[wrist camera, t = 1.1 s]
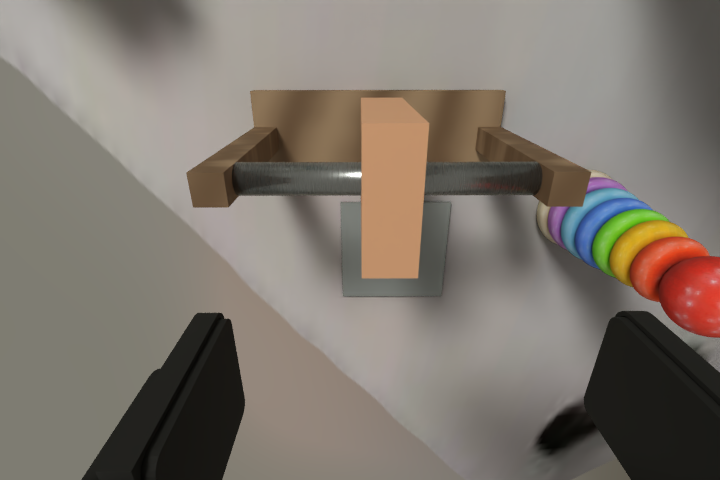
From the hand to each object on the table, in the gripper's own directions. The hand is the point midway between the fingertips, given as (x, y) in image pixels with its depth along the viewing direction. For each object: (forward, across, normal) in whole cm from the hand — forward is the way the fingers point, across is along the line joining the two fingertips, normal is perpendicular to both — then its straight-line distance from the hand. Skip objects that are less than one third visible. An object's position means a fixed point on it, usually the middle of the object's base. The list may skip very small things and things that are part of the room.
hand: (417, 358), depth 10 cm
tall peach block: (+22, 0, 0) cm, 22 cm away
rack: (+29, 0, 0) cm, 29 cm away
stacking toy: (+29, -20, +7) cm, 36 cm away
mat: (+29, -2, +12) cm, 32 cm away
